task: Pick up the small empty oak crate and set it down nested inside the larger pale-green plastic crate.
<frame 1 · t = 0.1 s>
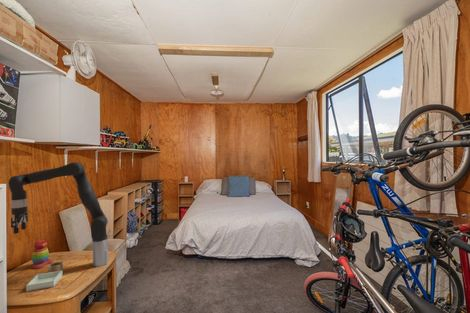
hand: (20, 231, 145), 29 cm above the table, fingers open, 8 cm apart
oak crate: (55, 273, 148), on the table
green crate: (45, 283, 136), on the table
stacking bear: (41, 265, 160), on the table
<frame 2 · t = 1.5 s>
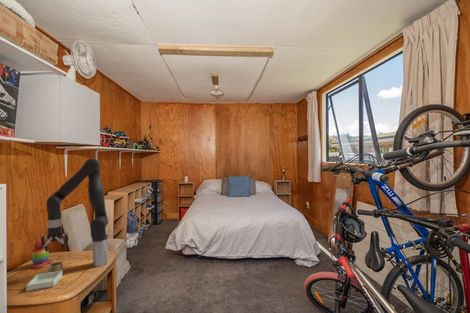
hand: (55, 250, 148), 15 cm above the table, fingers open, 8 cm apart
nothing on the table moved.
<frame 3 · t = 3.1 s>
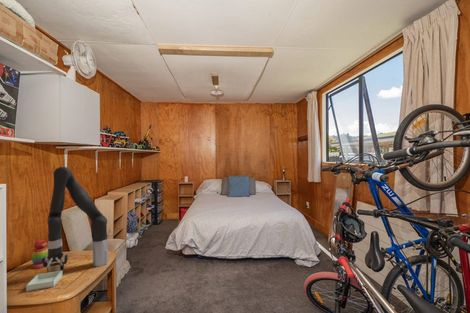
hand: (55, 271, 148), 1 cm above the table, fingers closed on oak crate, 6 cm apart
oak crate: (55, 273, 148), on the table, touching gripper
everything else where it was.
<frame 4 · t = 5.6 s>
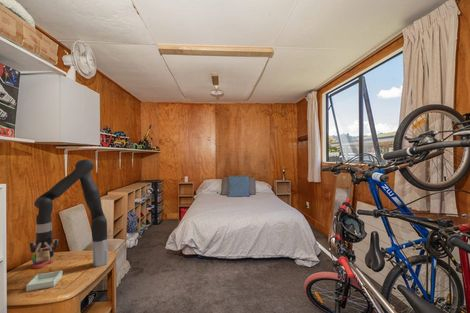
hand: (44, 257, 136), 16 cm above the table, fingers closed on oak crate, 6 cm apart
oak crate: (44, 259, 136), point 14 cm above the table, touching gripper
everything else where it was.
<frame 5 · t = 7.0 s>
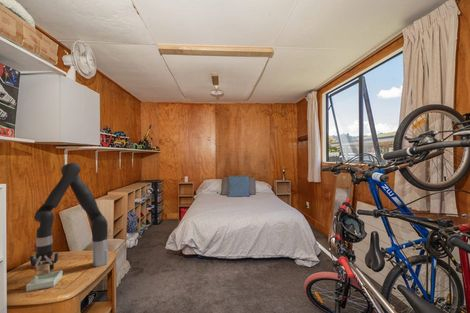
hand: (44, 271, 136), 7 cm above the table, fingers closed on oak crate, 6 cm apart
oak crate: (44, 272, 136), point 6 cm above the table, touching gripper
everything else where it was.
when the fingers open (4 cm above the table, at t = 8.3 s): oak crate drops 2 cm, resting on green crate.
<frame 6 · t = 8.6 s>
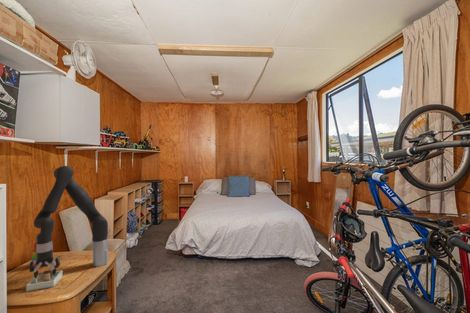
hand: (45, 276, 136), 4 cm above the table, fingers open, 8 cm apart
oak crate: (45, 282, 136), point 1 cm above the table, touching green crate
everything else where it was.
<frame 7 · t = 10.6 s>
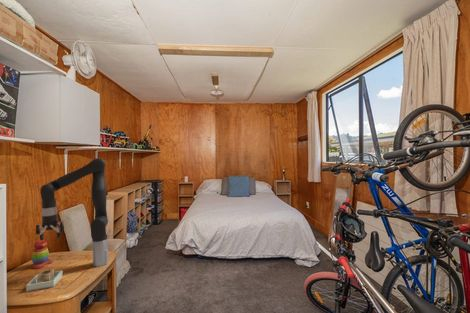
hand: (50, 238, 146), 23 cm above the table, fingers open, 8 cm apart
nothing on the table moved.
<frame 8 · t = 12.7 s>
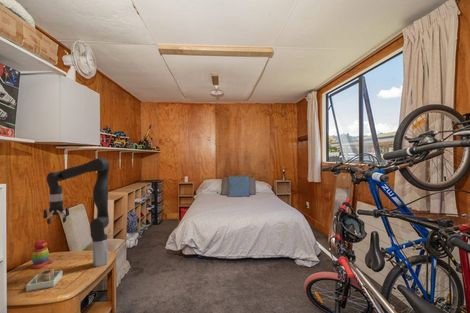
hand: (56, 223, 158), 30 cm above the table, fingers open, 8 cm apart
nothing on the table moved.
at the end: oak crate 0.0 cm off-centre on the green crate, point 0.6 cm above the green crate's base; oak crate tilted 0°; the gripper is holding nothing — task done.
